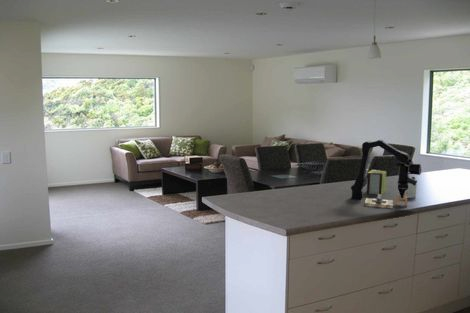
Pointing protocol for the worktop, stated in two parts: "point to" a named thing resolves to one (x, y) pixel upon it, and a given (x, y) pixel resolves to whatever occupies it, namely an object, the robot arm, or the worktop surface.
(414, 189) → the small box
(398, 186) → the robot arm
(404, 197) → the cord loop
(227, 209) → the worktop surface
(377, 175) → the protein box
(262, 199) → the worktop surface
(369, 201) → the hook shelf
